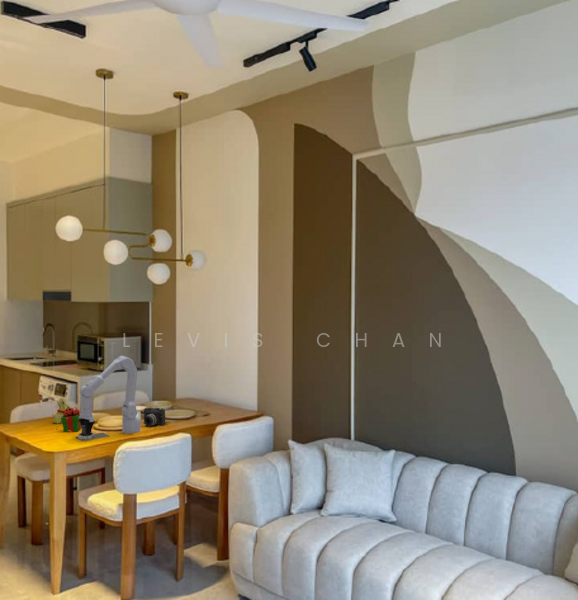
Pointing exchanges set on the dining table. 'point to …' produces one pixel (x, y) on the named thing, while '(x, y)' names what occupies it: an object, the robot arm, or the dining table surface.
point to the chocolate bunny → (60, 410)
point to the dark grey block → (84, 431)
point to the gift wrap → (71, 420)
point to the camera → (154, 416)
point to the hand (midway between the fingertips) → (86, 432)
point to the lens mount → (91, 436)
